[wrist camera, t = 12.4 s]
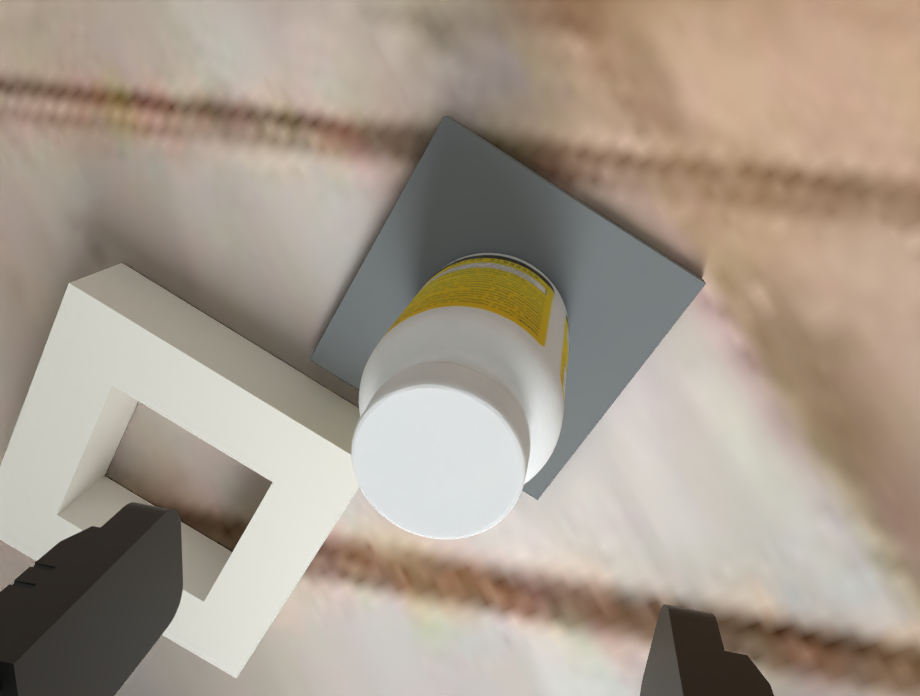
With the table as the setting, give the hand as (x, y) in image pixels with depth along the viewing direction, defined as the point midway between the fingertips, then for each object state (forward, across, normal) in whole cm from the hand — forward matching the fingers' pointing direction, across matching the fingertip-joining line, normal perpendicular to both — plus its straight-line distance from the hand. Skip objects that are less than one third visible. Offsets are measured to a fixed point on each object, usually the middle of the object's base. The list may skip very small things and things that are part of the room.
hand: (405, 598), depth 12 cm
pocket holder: (+15, +12, +8) cm, 20 cm away
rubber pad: (+15, 0, 0) cm, 15 cm away
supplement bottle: (+14, 0, 0) cm, 14 cm away
